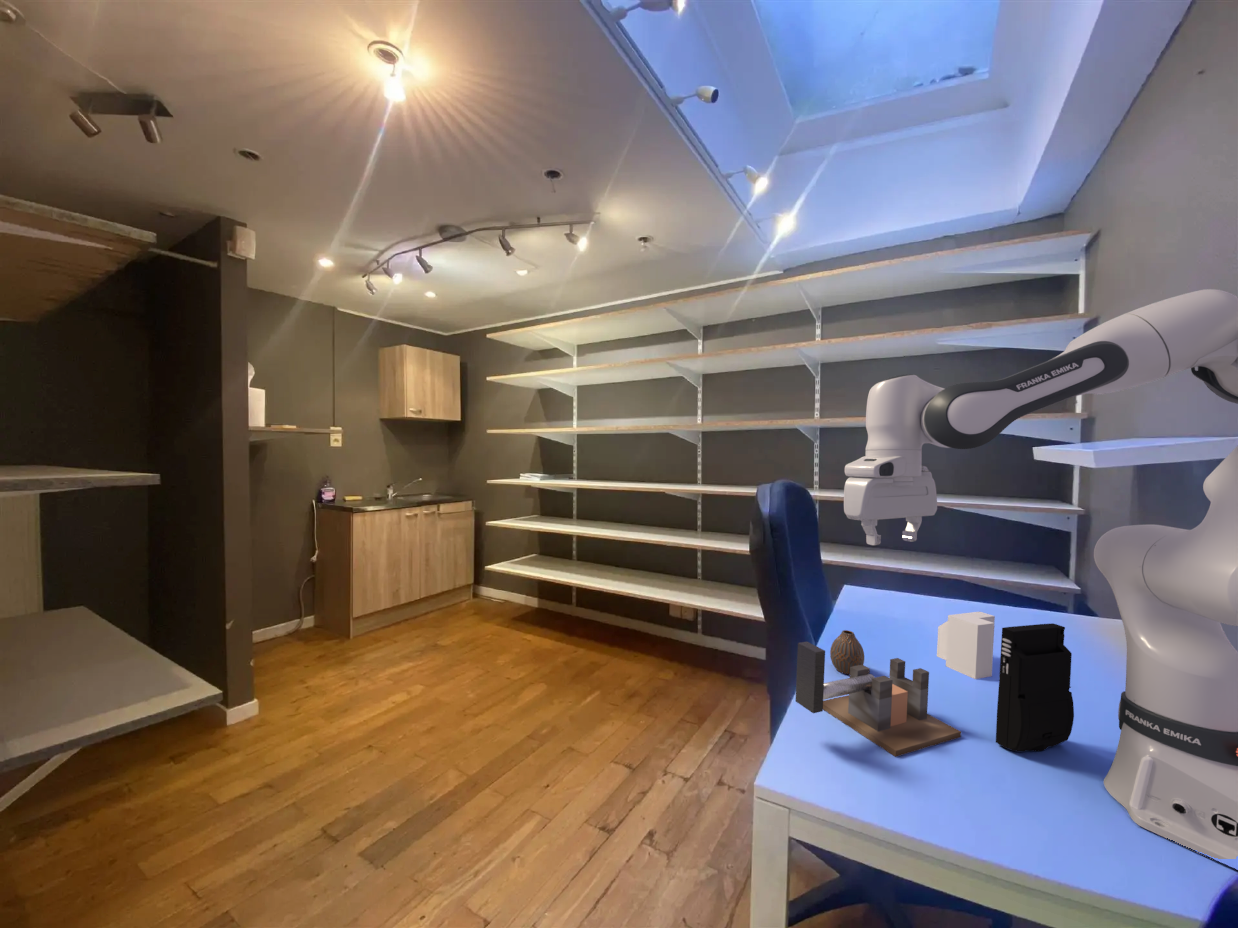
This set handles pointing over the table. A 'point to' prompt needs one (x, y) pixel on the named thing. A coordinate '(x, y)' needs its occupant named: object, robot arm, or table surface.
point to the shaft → (821, 679)
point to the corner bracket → (967, 643)
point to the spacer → (898, 705)
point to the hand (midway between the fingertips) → (891, 542)
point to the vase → (846, 652)
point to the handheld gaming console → (1034, 688)
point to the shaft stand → (874, 711)
